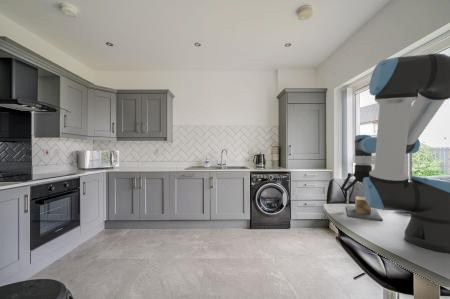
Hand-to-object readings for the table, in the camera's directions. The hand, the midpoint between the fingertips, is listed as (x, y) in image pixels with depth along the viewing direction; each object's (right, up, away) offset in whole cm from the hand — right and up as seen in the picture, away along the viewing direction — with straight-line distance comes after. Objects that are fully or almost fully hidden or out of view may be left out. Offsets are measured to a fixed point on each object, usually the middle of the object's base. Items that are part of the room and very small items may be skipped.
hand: (362, 205), depth 111 cm
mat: (0, -4, 0) cm, 4 cm away
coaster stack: (0, -4, 0) cm, 4 cm away
